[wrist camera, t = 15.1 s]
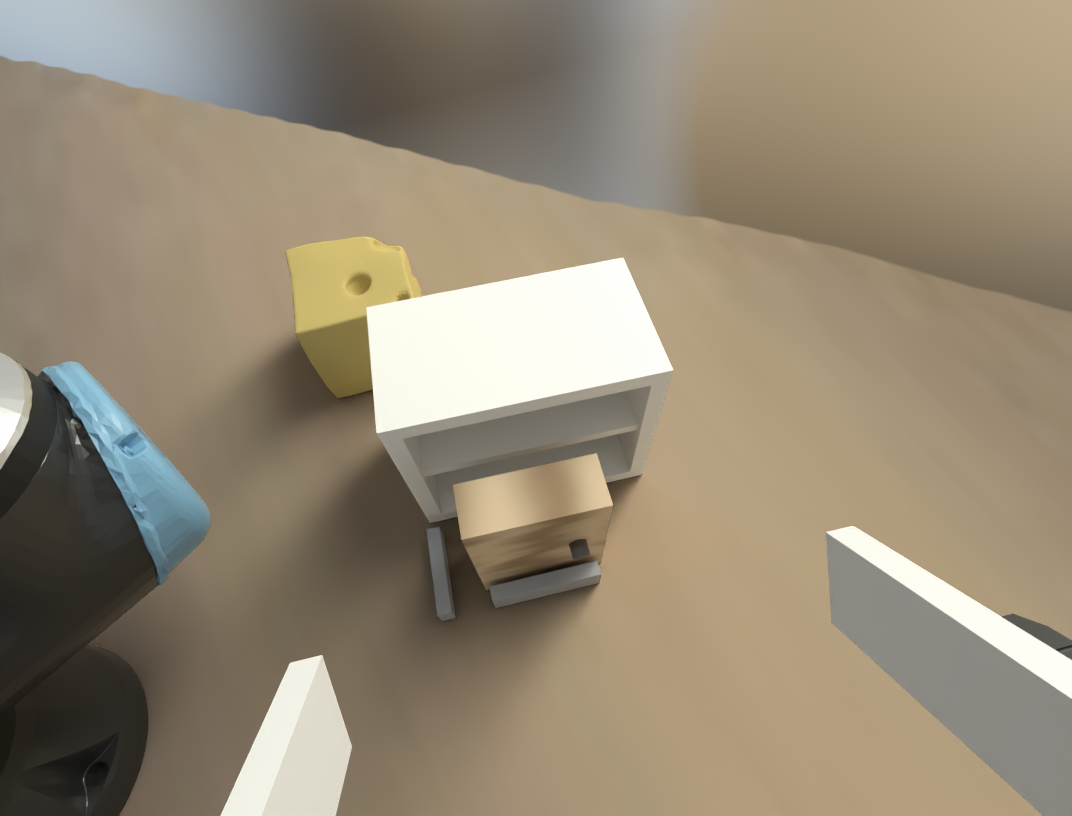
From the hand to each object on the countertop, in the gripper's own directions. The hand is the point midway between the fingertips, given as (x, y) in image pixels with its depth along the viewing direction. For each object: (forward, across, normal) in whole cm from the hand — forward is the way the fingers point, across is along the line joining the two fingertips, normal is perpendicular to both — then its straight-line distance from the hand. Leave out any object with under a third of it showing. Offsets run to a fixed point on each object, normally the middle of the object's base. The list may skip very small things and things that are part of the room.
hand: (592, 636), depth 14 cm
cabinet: (+31, +1, -8) cm, 32 cm away
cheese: (+44, -10, +4) cm, 45 cm away
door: (+27, 0, -12) cm, 29 cm away
